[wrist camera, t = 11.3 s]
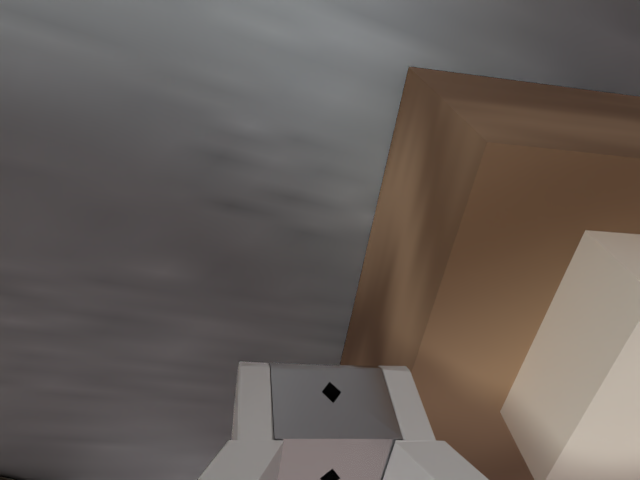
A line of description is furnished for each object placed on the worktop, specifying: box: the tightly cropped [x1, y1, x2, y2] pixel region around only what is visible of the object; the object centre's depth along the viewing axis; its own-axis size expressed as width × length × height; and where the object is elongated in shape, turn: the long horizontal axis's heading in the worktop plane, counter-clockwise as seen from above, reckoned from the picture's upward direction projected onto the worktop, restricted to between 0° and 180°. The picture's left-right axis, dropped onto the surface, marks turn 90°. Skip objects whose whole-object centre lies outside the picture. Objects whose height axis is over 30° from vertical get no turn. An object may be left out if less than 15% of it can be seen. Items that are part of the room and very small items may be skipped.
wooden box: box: [340, 67, 640, 480], centre depth 16 cm, size 16×12×5 cm
